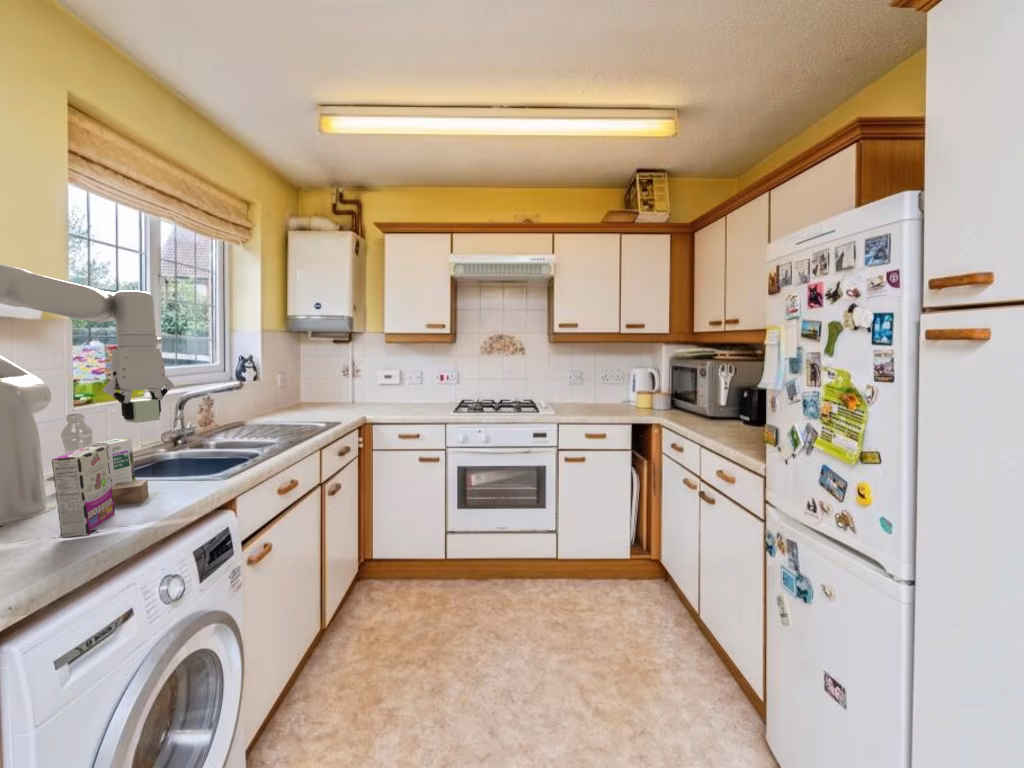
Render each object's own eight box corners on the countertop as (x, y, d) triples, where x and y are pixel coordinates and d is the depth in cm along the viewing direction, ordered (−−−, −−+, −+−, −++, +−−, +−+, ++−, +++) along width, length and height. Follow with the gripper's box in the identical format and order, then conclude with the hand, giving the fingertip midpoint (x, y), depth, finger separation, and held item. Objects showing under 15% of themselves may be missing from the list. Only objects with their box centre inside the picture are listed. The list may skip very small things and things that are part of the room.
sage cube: (125, 421, 118) (124, 400, 118) (148, 418, 123) (147, 398, 122) (136, 422, 116) (135, 401, 116) (159, 419, 120) (158, 399, 120)
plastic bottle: (96, 485, 135) (89, 414, 133) (64, 490, 131) (56, 416, 130) (100, 480, 140) (93, 411, 139) (68, 485, 137) (61, 414, 135)
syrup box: (115, 500, 121) (110, 443, 120) (96, 499, 123) (90, 442, 121) (137, 493, 127) (132, 438, 126) (118, 492, 128) (113, 438, 127)
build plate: (100, 514, 112) (100, 509, 111) (113, 501, 120) (113, 497, 120) (148, 507, 115) (148, 503, 115) (158, 496, 124) (157, 492, 124)
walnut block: (111, 506, 114) (109, 489, 114) (118, 499, 119) (117, 483, 119) (142, 502, 116) (141, 485, 116) (148, 495, 122) (147, 479, 121)
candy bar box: (89, 520, 108) (81, 447, 106) (116, 517, 109) (109, 445, 108) (58, 539, 97) (49, 458, 96) (88, 536, 98) (80, 456, 97)
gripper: (166, 343, 127) (171, 412, 128) (86, 343, 112) (92, 421, 113) (183, 342, 124) (187, 414, 125) (102, 342, 109) (108, 423, 110)
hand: (142, 416), depth 119 cm, fingers closed on sage cube, 5 cm apart
